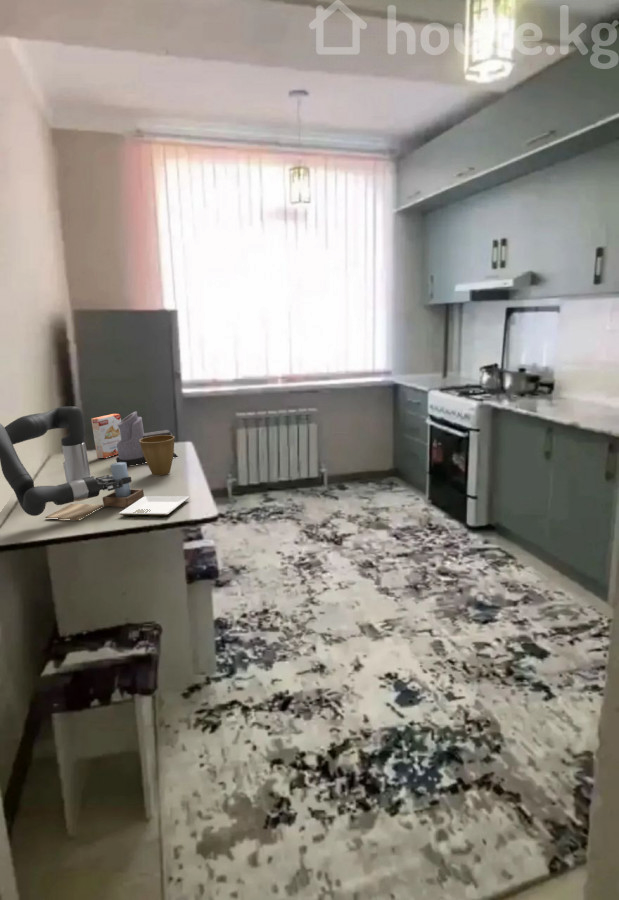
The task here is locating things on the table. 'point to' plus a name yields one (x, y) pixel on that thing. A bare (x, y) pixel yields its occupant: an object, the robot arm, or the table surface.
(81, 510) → the wooden board
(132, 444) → the grey boots
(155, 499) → the plate
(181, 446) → the table surface
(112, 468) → the cylinder
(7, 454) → the robot arm
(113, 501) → the holder
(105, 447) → the cracker box
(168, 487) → the table surface
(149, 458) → the plant pot
